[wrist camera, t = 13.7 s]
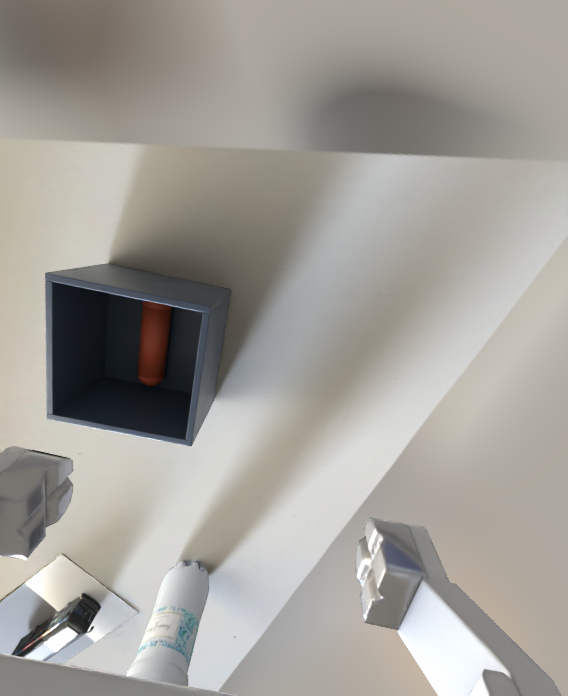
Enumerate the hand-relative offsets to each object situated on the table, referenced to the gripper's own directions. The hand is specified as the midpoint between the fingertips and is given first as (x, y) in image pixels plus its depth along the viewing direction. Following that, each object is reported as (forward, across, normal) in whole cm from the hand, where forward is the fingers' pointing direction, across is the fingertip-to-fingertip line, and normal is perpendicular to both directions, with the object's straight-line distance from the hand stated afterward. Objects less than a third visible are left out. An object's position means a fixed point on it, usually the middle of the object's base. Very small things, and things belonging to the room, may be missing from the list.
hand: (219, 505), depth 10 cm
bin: (+29, +12, +6) cm, 32 cm away
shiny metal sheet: (+28, +24, +56) cm, 67 cm away
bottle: (+29, +4, +40) cm, 50 cm away
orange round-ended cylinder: (+28, +12, +7) cm, 31 cm away
